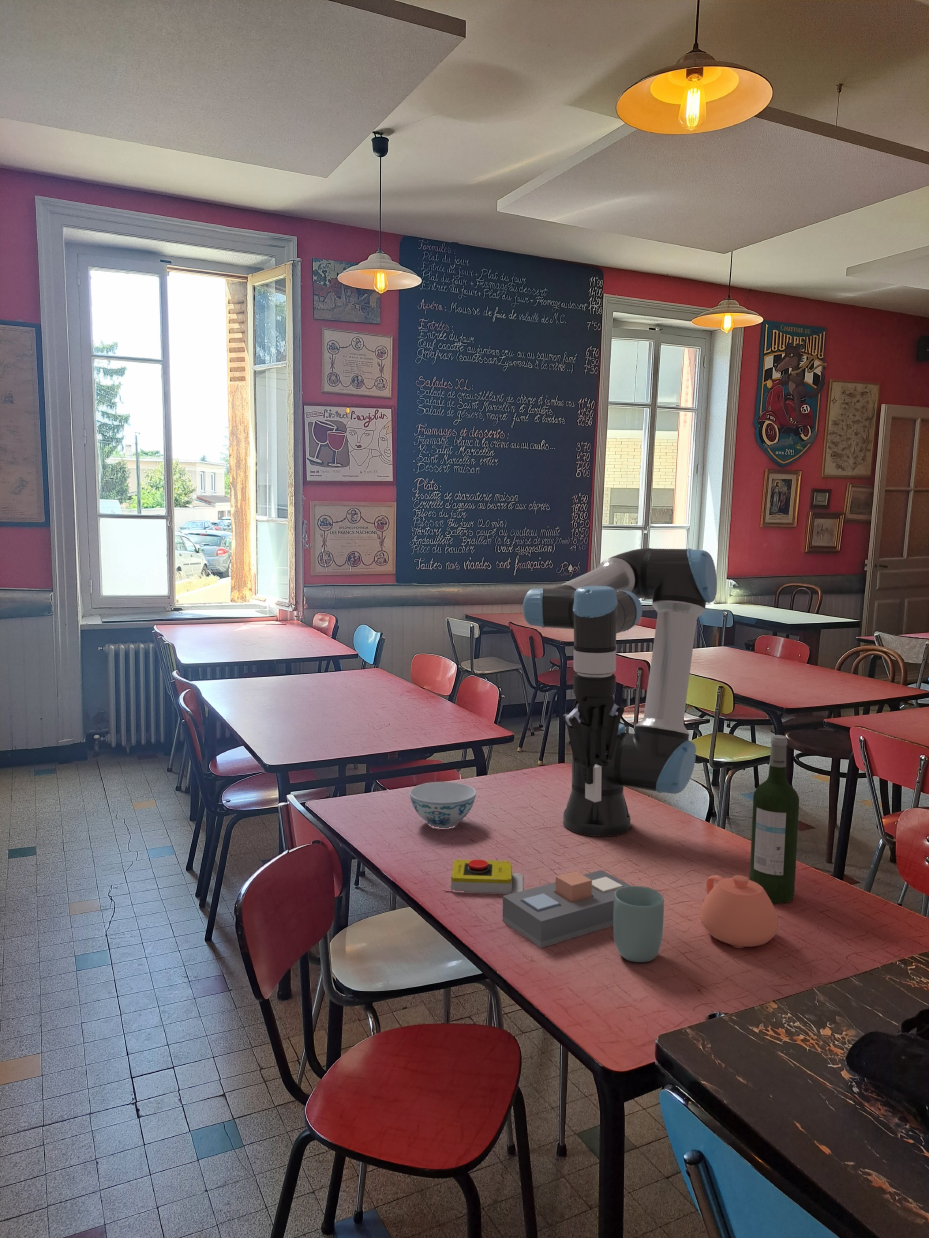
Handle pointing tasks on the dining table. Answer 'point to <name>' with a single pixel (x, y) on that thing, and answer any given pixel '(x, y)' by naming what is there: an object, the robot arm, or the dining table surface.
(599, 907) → the key panel
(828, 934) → the dining table surface
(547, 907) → the blue key
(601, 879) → the ivory key
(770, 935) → the sugar bowl
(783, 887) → the wine bottle
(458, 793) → the chinaware
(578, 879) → the orange key
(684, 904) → the dining table surface
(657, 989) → the dining table surface
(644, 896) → the cup
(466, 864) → the emergency button
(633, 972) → the dining table surface
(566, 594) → the robot arm
